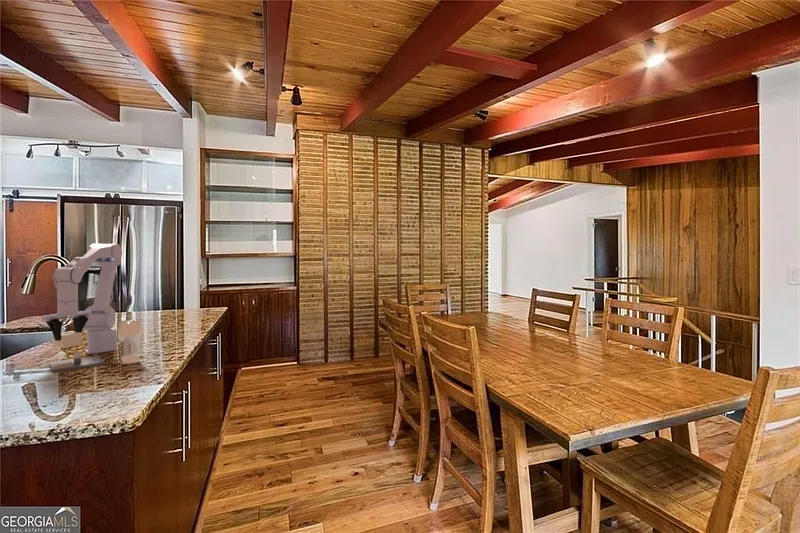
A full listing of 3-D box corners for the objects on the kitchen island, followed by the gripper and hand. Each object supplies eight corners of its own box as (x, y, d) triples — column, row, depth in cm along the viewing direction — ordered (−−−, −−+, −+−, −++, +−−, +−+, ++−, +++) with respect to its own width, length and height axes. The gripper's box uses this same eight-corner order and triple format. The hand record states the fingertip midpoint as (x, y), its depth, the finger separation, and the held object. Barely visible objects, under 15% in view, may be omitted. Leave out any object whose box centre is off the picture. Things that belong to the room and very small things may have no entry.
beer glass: (145, 360, 149) (145, 320, 148) (131, 365, 142) (131, 323, 141) (128, 359, 149) (128, 319, 149) (113, 364, 142) (112, 322, 142)
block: (71, 343, 146) (71, 331, 146) (81, 345, 144) (81, 332, 144) (53, 346, 141) (53, 333, 141) (63, 348, 139) (63, 335, 139)
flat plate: (98, 358, 150) (98, 346, 150) (105, 364, 142) (105, 352, 142) (49, 365, 140) (49, 352, 140) (53, 372, 132) (53, 359, 132)
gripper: (82, 298, 150) (83, 334, 150) (36, 302, 137) (36, 341, 137) (95, 299, 148) (95, 335, 148) (48, 303, 134) (49, 343, 134)
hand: (67, 338), depth 142 cm, fingers closed on block, 6 cm apart
